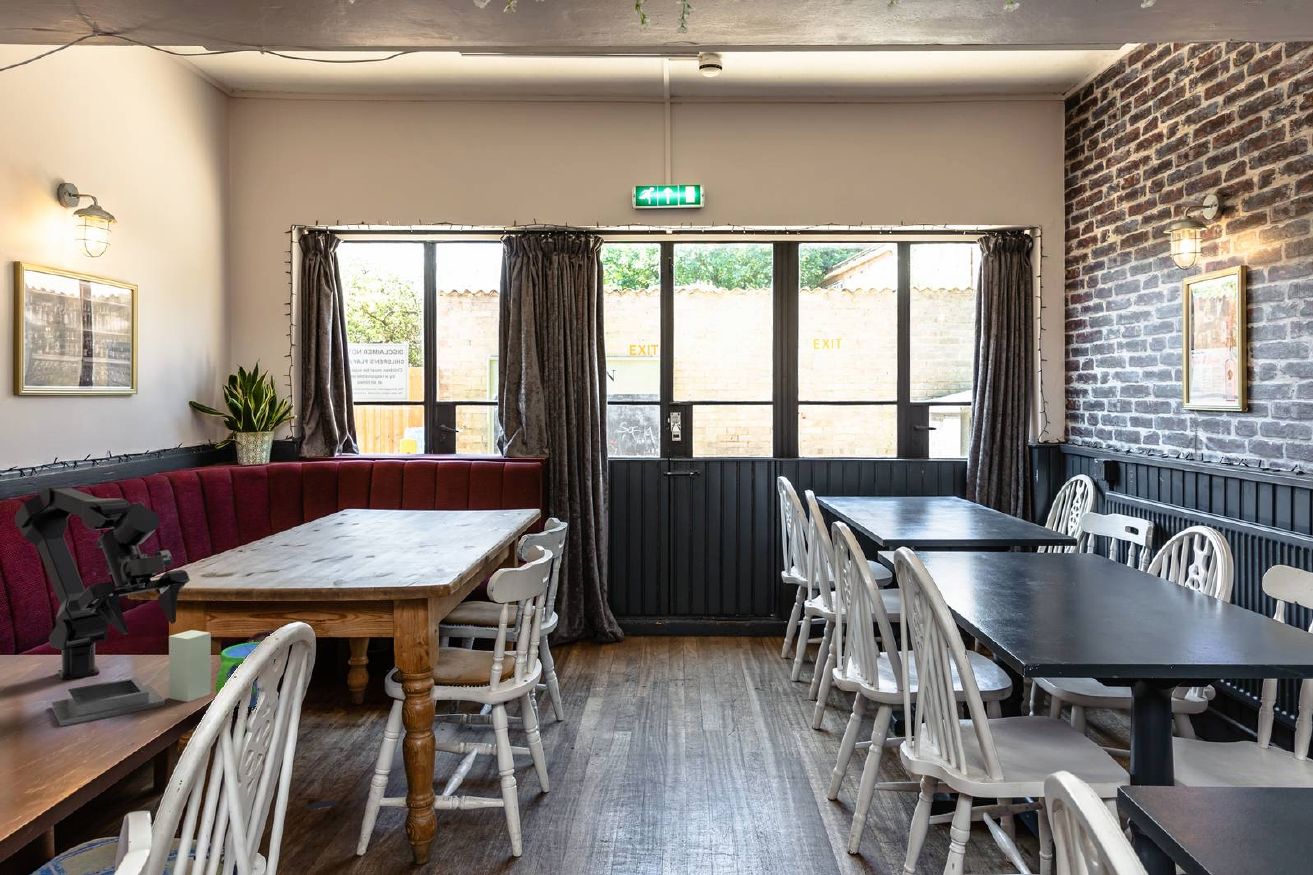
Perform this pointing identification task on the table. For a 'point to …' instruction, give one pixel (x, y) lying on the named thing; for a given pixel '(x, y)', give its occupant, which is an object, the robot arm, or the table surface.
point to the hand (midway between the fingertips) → (150, 628)
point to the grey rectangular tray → (105, 701)
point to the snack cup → (236, 666)
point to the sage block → (189, 665)
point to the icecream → (260, 636)
